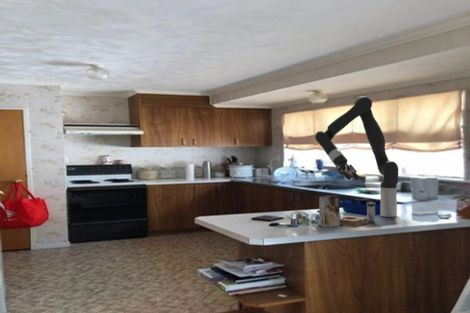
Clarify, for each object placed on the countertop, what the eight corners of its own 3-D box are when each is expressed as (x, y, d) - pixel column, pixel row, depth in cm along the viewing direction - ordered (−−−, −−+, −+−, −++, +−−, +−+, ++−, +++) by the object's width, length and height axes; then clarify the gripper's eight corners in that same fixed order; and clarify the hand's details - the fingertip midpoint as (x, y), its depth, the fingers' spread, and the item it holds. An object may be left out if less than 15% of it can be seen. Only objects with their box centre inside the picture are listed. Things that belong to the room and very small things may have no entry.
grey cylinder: (369, 221, 258) (369, 202, 258) (377, 222, 255) (377, 203, 255) (364, 222, 255) (364, 203, 255) (372, 223, 251) (372, 203, 251)
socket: (346, 220, 261) (346, 215, 261) (367, 223, 251) (367, 218, 251) (331, 223, 252) (331, 218, 252) (353, 226, 241) (353, 221, 241)
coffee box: (334, 224, 250) (334, 194, 249) (340, 226, 244) (340, 196, 243) (318, 225, 247) (318, 195, 247) (324, 227, 241) (324, 196, 241)
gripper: (335, 153, 263) (351, 175, 255) (348, 154, 273) (364, 174, 265) (326, 162, 267) (343, 183, 259) (340, 162, 277) (356, 183, 269)
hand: (354, 179), depth 262 cm, fingers open, 8 cm apart
